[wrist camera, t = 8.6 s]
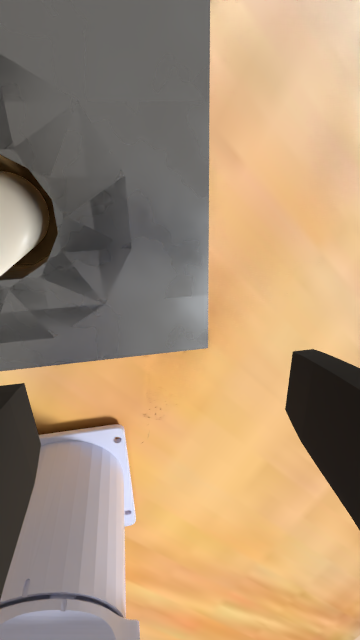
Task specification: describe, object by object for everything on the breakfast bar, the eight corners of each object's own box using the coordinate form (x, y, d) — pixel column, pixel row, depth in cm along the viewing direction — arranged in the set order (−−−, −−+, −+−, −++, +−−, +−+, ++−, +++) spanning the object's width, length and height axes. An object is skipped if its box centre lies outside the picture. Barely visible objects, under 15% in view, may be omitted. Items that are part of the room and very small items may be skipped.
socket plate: (197, 328, 19) (207, 347, 17) (-142, 363, 17) (-180, 391, 15) (195, 26, 14) (209, -1, 11) (-323, 12, 11) (-429, -26, 9)
